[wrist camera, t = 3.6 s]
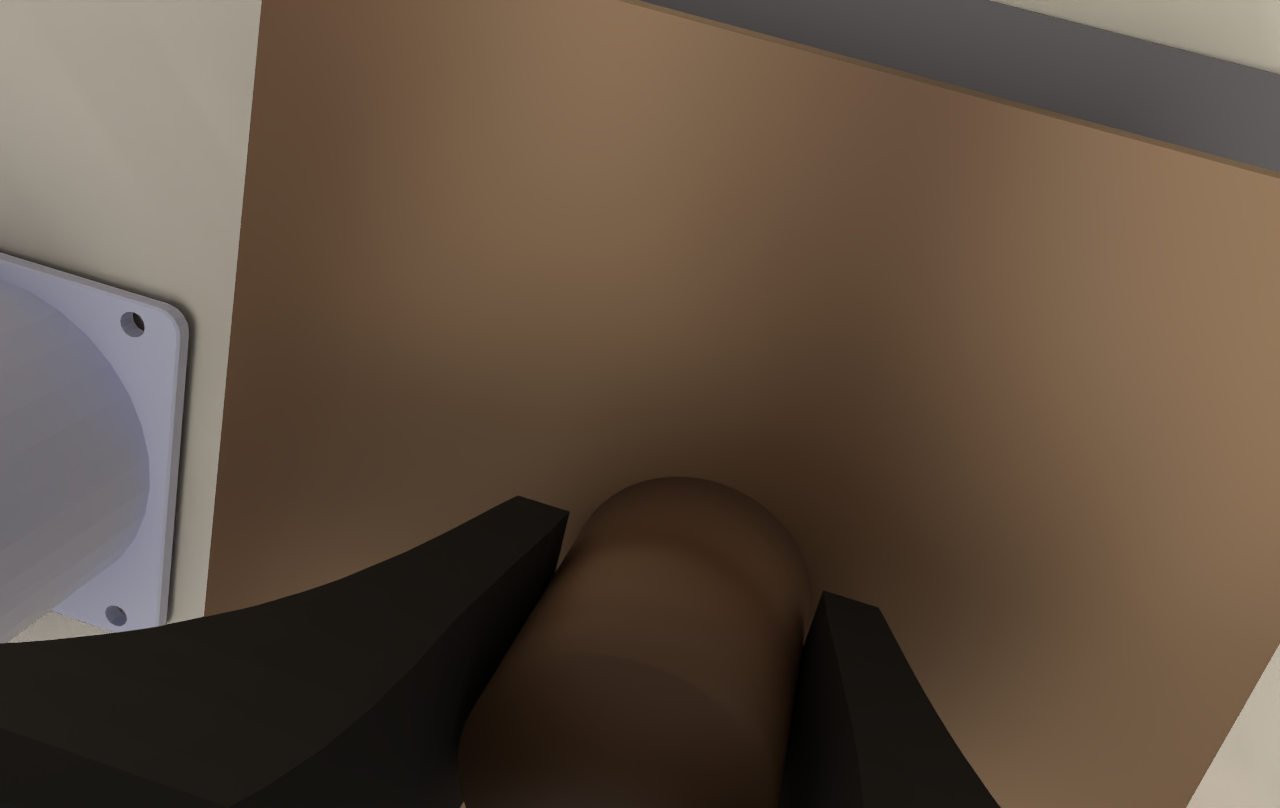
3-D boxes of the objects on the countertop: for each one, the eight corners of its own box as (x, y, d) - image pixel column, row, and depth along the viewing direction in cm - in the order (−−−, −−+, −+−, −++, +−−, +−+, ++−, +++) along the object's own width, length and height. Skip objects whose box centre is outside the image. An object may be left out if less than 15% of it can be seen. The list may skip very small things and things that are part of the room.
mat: (351, 576, 23) (343, 585, 23) (461, -134, 18) (452, -136, 18) (996, 786, 22) (998, 800, 22) (1325, 86, 17) (1334, 89, 16)
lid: (223, 758, 16) (-4, 1011, 12) (314, -88, 12) (-2, -133, 8) (1004, 1052, 15) (1042, 1449, 11) (1463, 221, 10) (1826, 367, 6)
